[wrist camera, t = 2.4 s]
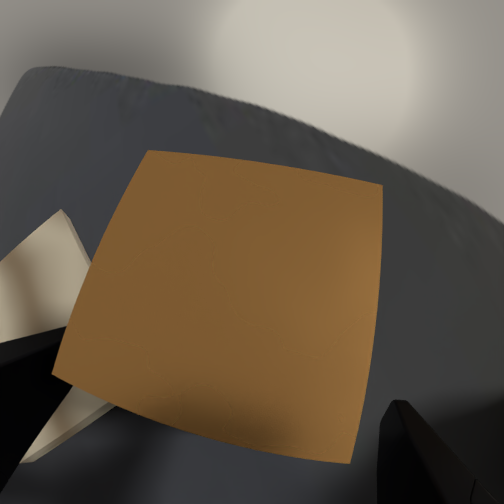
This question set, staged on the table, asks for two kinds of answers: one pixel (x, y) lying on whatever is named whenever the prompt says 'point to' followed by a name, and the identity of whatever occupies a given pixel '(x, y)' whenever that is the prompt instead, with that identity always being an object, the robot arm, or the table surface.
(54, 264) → the birch board
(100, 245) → the aluminium block
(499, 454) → the table surface
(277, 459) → the table surface
